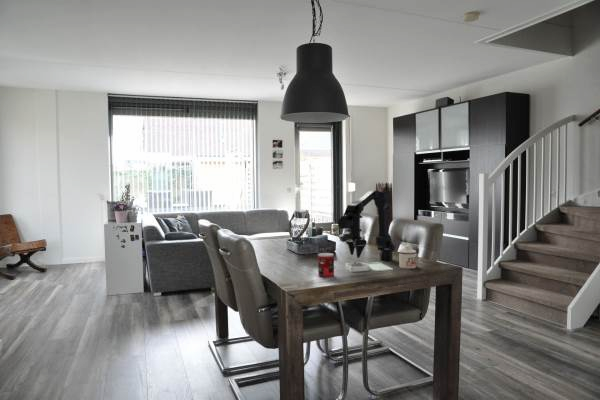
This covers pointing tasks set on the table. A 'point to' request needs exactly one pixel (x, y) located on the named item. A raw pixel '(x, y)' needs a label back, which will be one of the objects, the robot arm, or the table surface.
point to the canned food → (326, 265)
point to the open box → (359, 268)
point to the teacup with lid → (407, 258)
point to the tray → (378, 266)
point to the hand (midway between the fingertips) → (354, 256)
